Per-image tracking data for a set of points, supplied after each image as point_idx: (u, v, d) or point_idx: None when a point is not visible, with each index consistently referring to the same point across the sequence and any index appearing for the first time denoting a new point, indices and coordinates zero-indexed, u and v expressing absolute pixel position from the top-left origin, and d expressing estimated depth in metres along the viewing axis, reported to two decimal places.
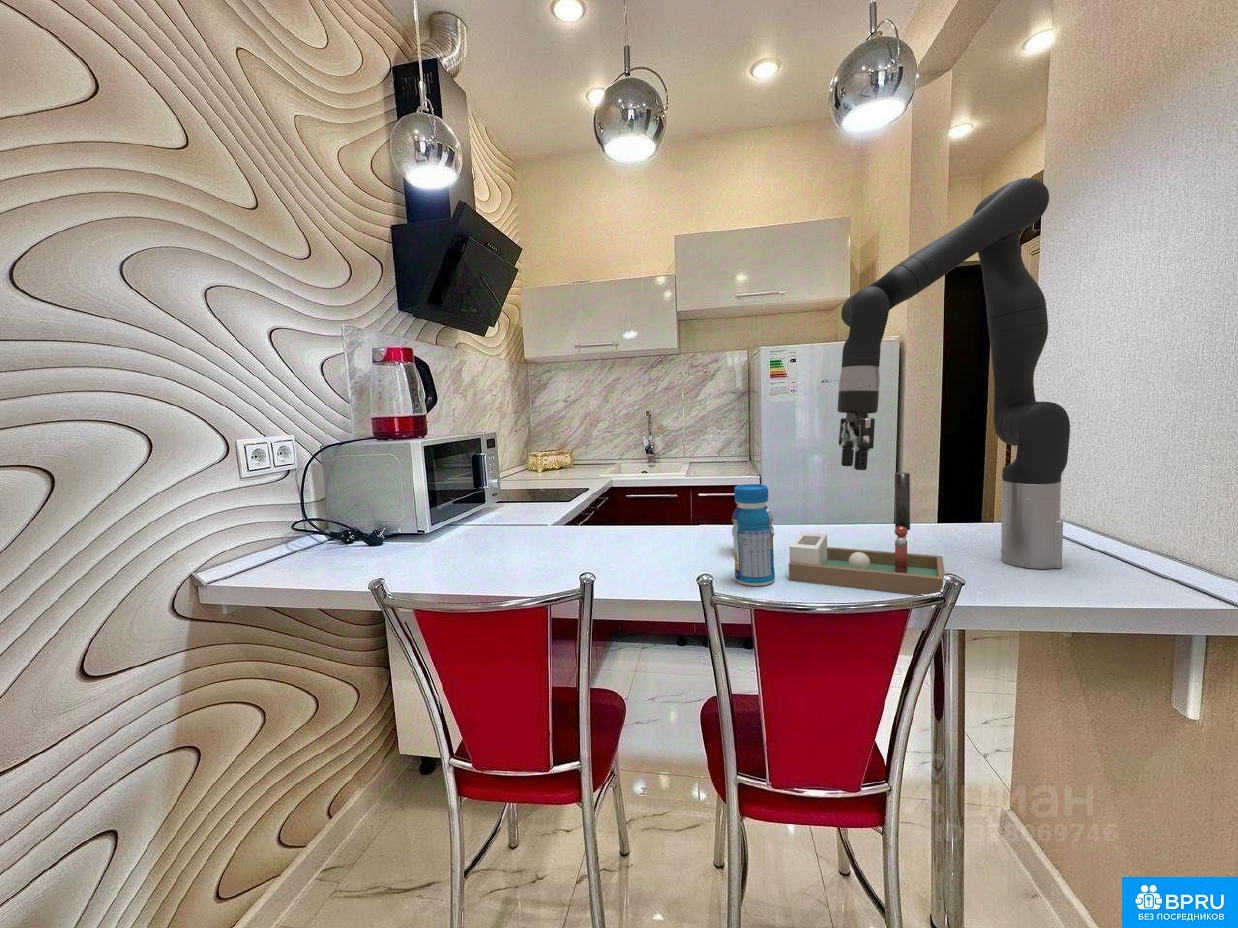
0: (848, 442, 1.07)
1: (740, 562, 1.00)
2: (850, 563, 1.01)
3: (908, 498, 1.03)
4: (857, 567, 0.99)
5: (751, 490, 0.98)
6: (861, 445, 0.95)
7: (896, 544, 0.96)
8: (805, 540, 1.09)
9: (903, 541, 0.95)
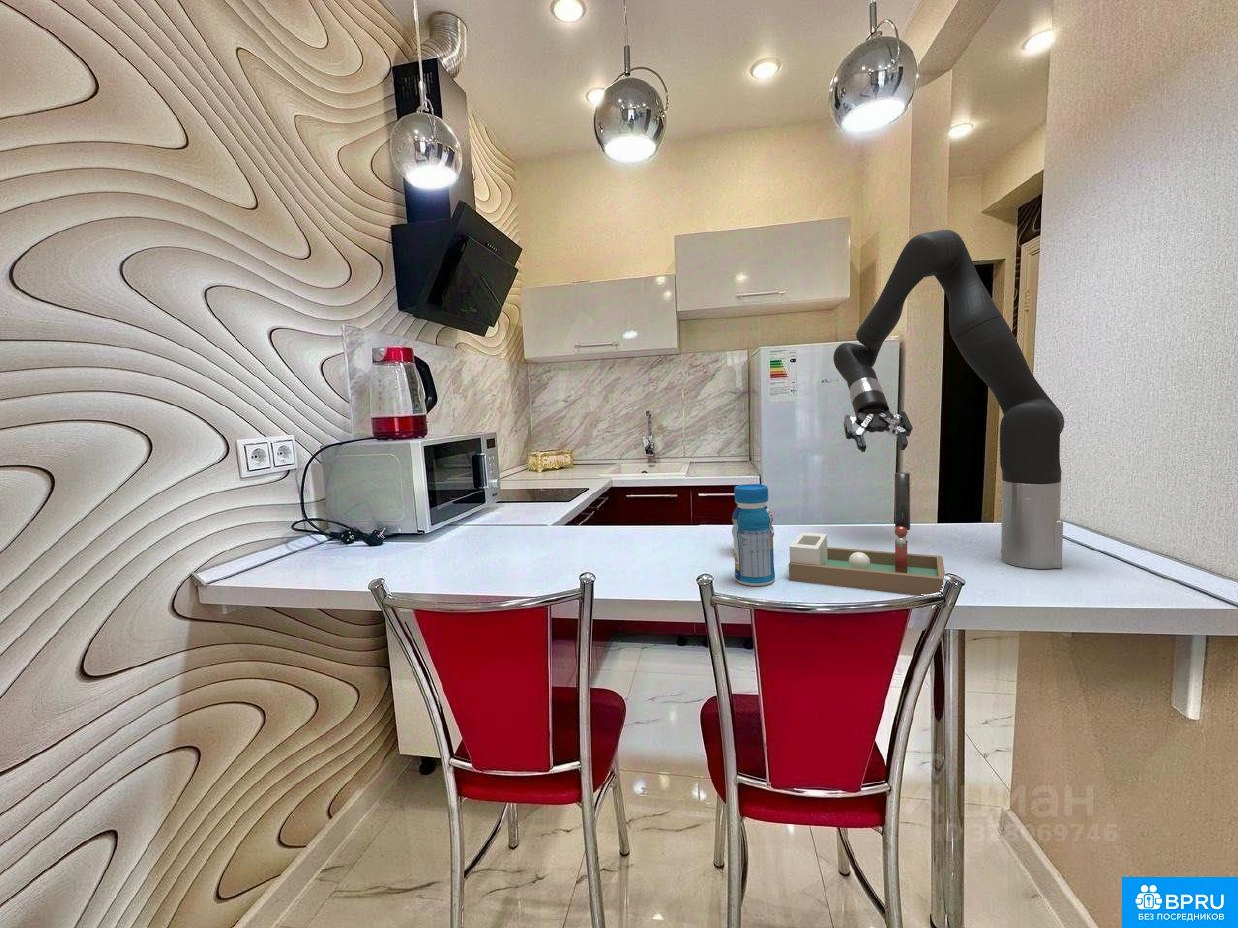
0: None
1: (740, 562, 1.00)
2: (850, 563, 1.01)
3: (908, 498, 1.03)
4: (857, 567, 0.99)
5: (751, 490, 0.98)
6: (846, 437, 1.19)
7: (896, 544, 0.96)
8: (805, 540, 1.09)
9: (903, 541, 0.95)
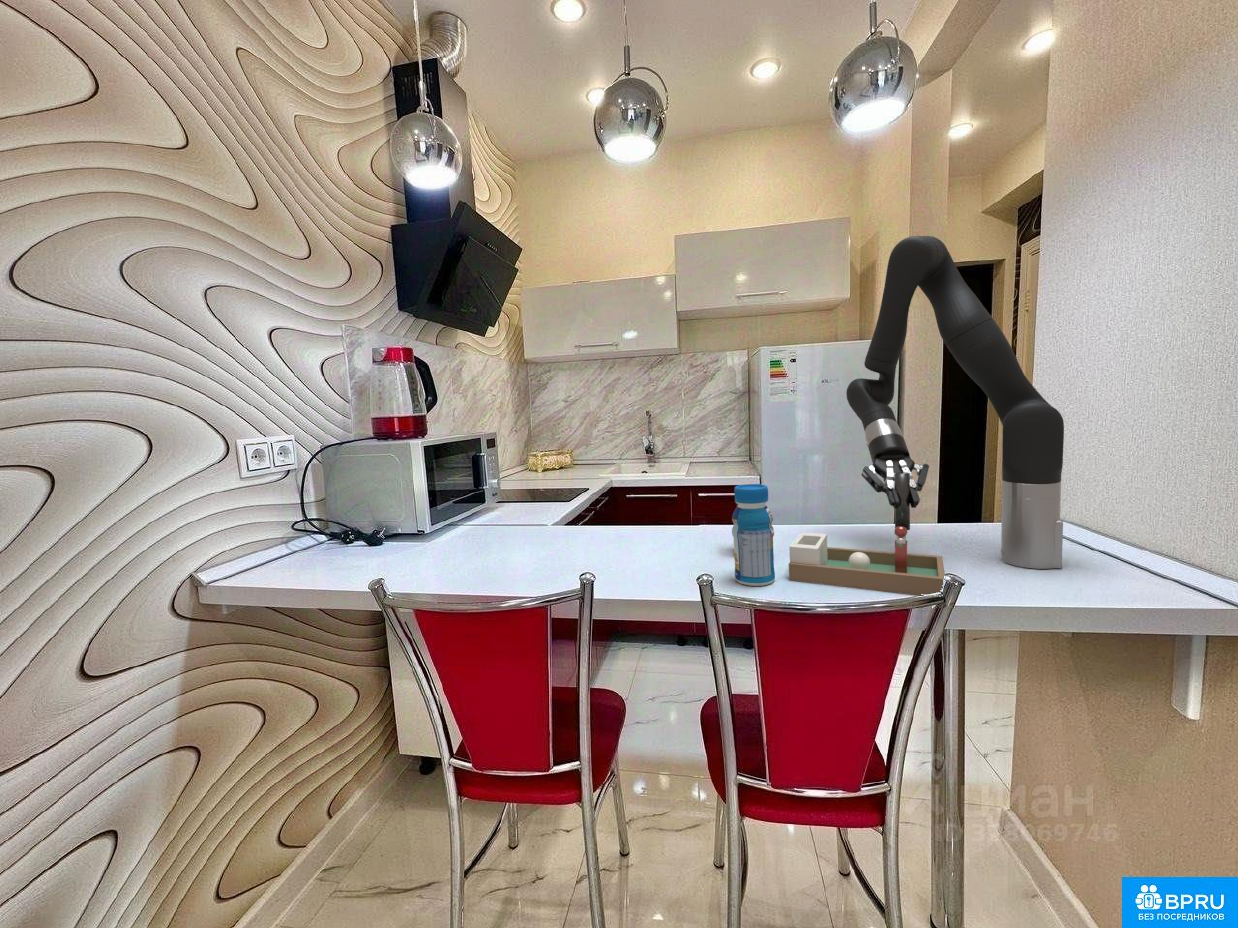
0: None
1: (740, 562, 1.00)
2: (850, 563, 1.01)
3: (908, 498, 1.03)
4: (857, 567, 0.99)
5: (751, 490, 0.98)
6: (876, 490, 1.07)
7: (896, 544, 0.96)
8: (805, 540, 1.09)
9: (903, 541, 0.95)
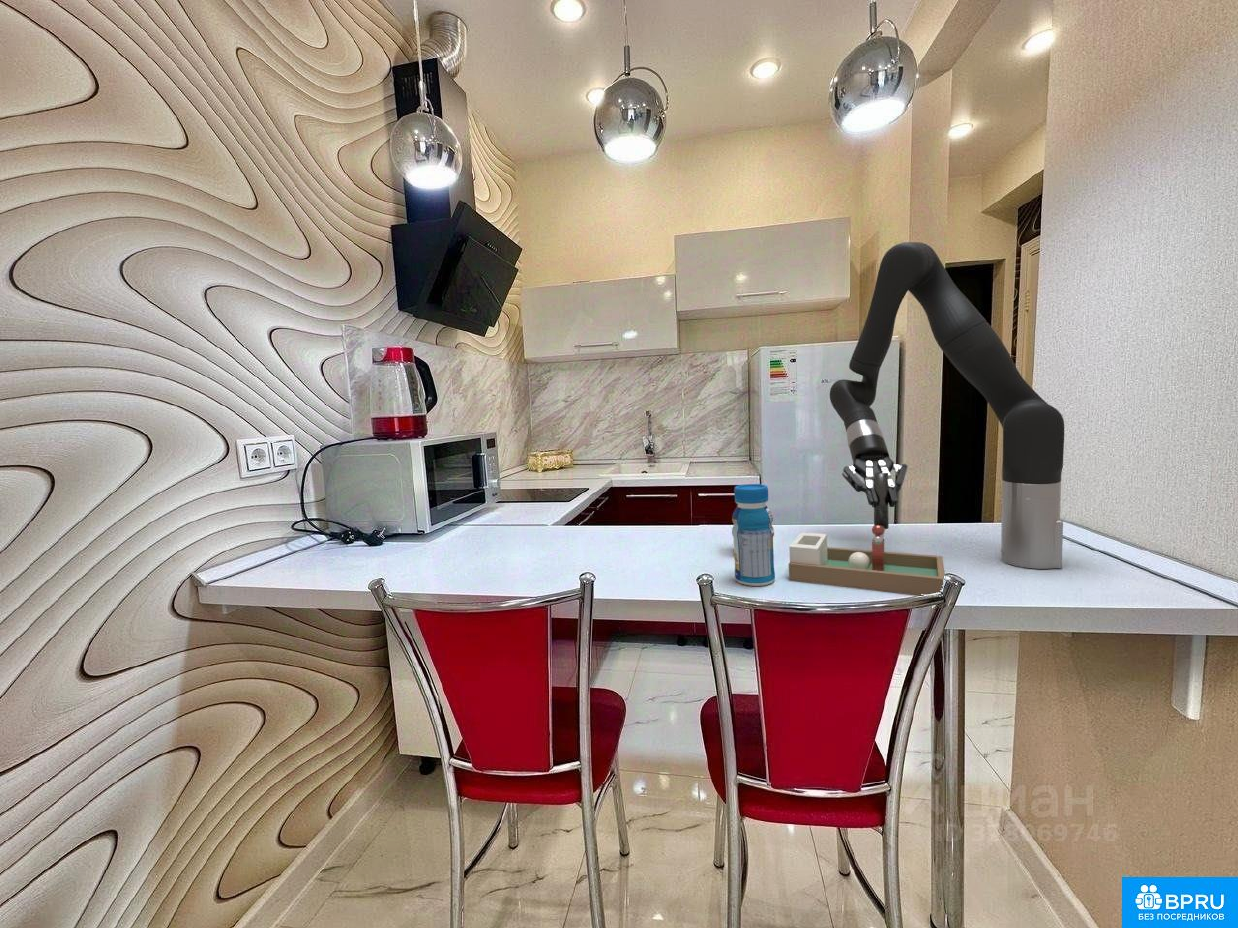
0: None
1: (740, 562, 1.00)
2: (850, 563, 1.01)
3: (886, 497, 1.05)
4: (857, 567, 0.99)
5: (751, 490, 0.98)
6: (856, 490, 1.09)
7: (873, 542, 0.98)
8: (805, 540, 1.09)
9: (880, 539, 0.97)
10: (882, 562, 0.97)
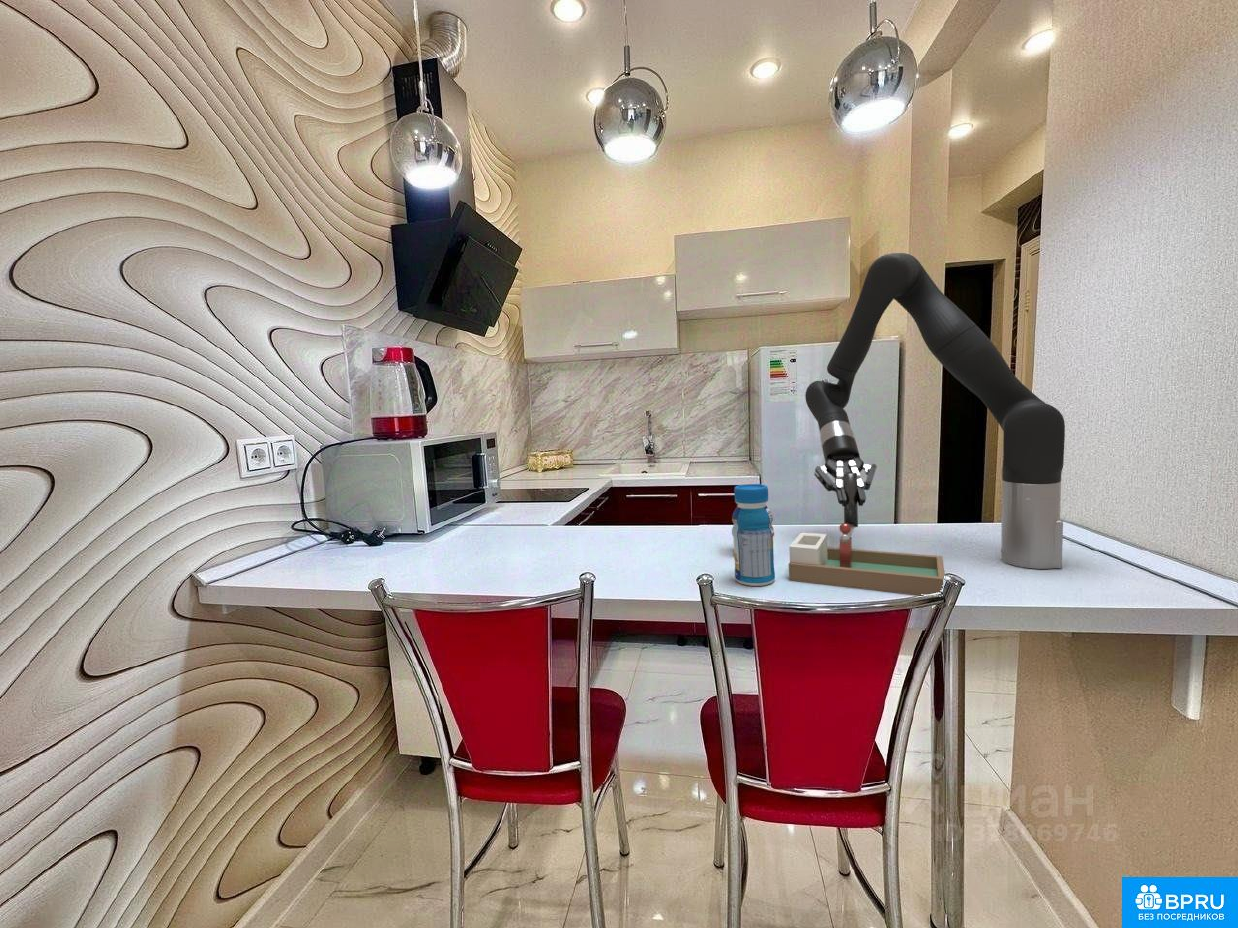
0: None
1: (740, 562, 1.00)
2: None
3: (855, 497, 1.08)
4: None
5: (751, 490, 0.98)
6: (827, 489, 1.12)
7: (840, 540, 1.01)
8: (805, 540, 1.09)
9: (846, 537, 1.00)
10: (849, 559, 1.00)
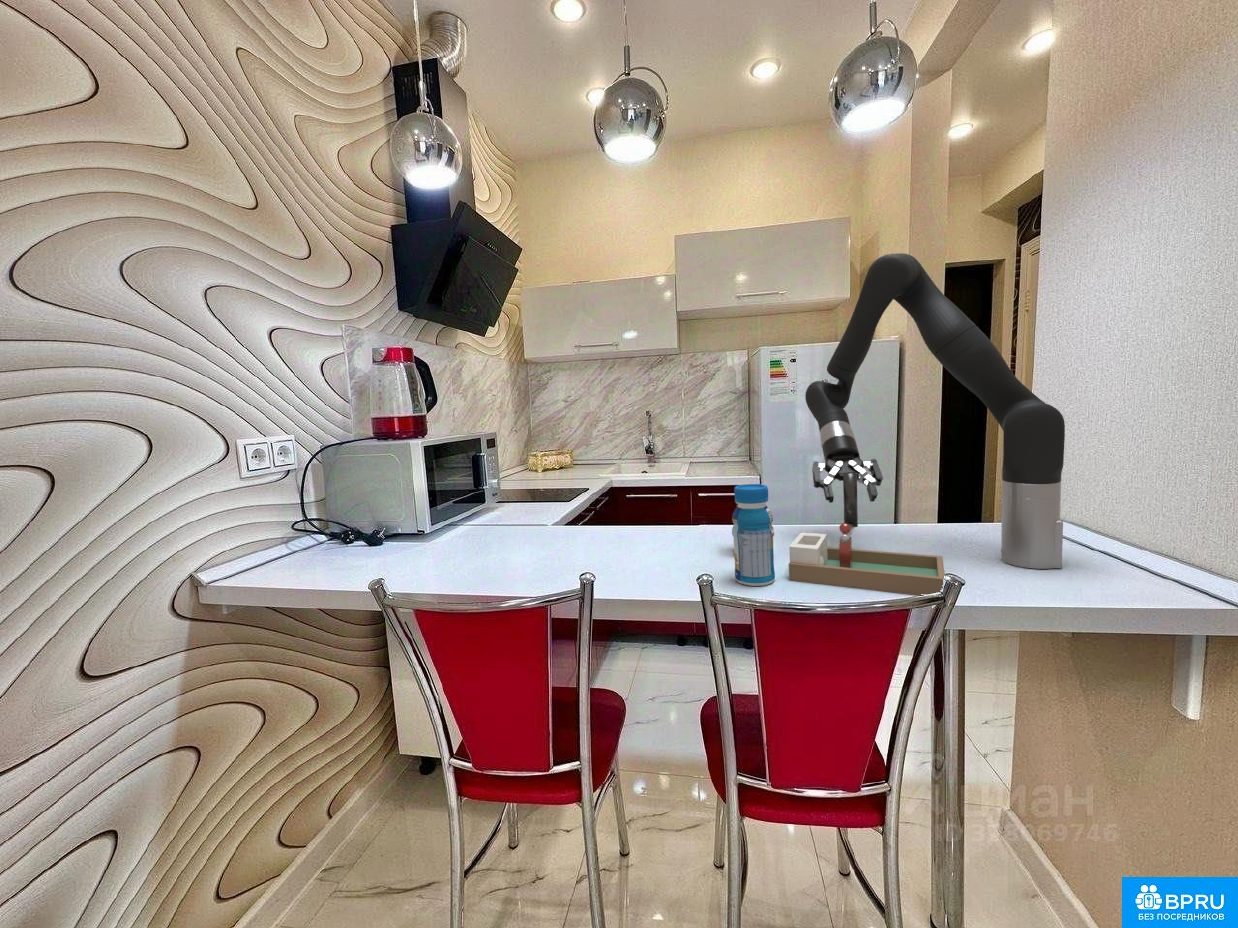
0: None
1: (740, 562, 1.00)
2: None
3: (855, 497, 1.08)
4: None
5: (751, 490, 0.98)
6: (814, 485, 1.13)
7: (840, 540, 1.01)
8: (805, 540, 1.09)
9: (846, 537, 1.00)
10: (849, 559, 1.00)
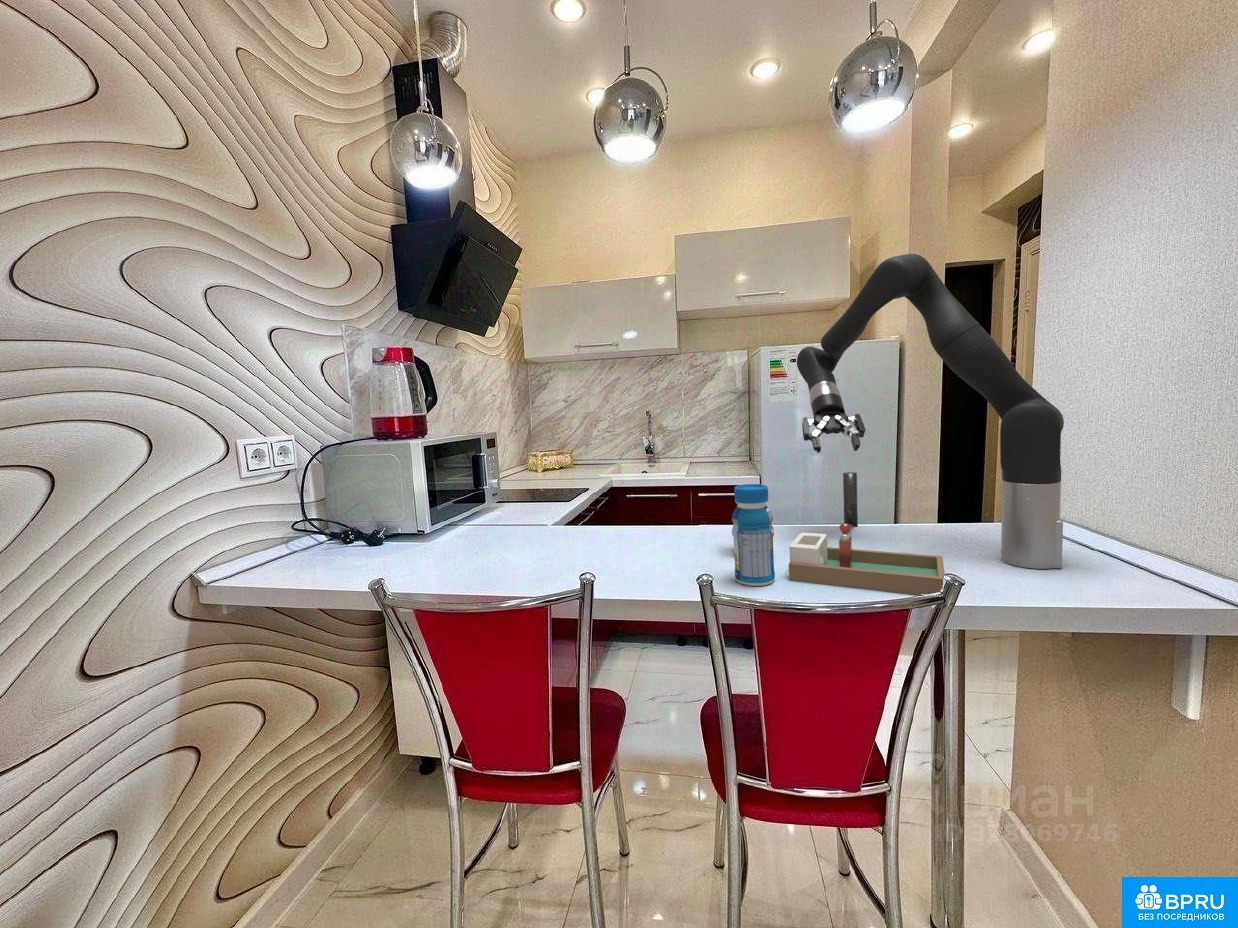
0: None
1: (740, 562, 1.00)
2: None
3: (855, 497, 1.08)
4: None
5: (751, 490, 0.98)
6: (803, 438, 1.25)
7: (840, 540, 1.01)
8: (805, 540, 1.09)
9: (846, 537, 1.00)
10: (849, 559, 1.00)
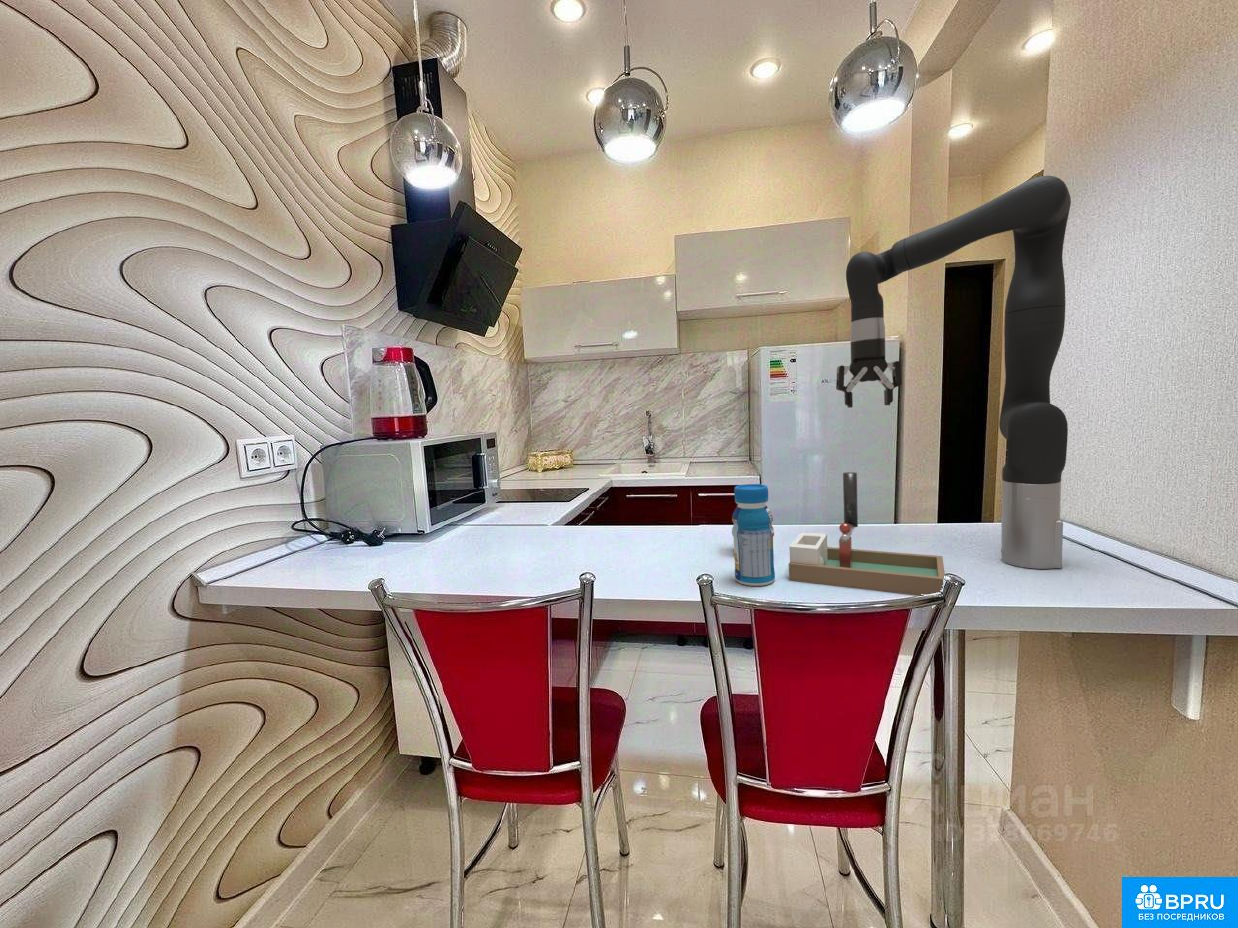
0: None
1: (740, 562, 1.00)
2: None
3: (855, 497, 1.08)
4: None
5: (751, 490, 0.98)
6: (836, 388, 1.23)
7: (840, 540, 1.01)
8: (805, 540, 1.09)
9: (846, 537, 1.00)
10: (849, 559, 1.00)
